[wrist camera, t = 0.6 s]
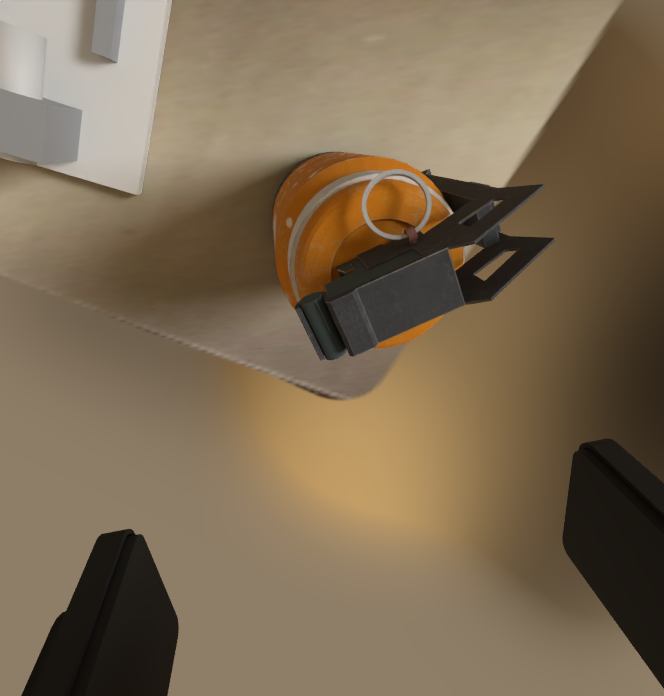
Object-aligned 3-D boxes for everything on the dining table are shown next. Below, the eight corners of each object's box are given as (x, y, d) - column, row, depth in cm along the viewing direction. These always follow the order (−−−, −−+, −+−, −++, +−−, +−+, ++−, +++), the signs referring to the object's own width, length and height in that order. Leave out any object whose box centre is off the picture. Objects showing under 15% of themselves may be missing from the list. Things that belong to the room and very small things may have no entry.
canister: (250, 184, 32) (229, 238, 14) (395, 116, 31) (569, 80, 13) (303, 295, 36) (341, 450, 18) (433, 236, 35) (609, 334, 17)
